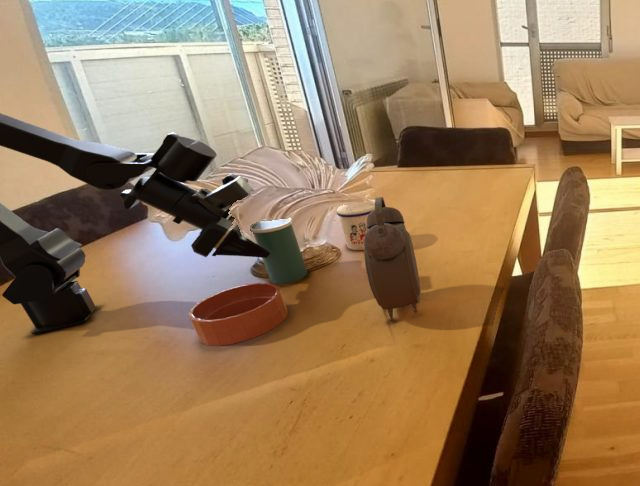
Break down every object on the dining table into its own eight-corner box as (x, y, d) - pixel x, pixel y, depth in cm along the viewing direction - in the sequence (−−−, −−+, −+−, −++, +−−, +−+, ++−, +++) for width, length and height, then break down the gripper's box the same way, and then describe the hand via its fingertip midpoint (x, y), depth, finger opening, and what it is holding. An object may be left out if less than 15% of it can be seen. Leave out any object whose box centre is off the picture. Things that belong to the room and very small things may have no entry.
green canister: (281, 289, 91) (261, 232, 86) (263, 282, 94) (242, 226, 89) (316, 274, 96) (298, 220, 91) (297, 268, 99) (279, 214, 94)
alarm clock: (380, 292, 88) (354, 191, 81) (421, 284, 91) (400, 185, 83) (377, 334, 76) (345, 219, 68) (425, 323, 79) (400, 211, 71)
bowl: (194, 358, 72) (181, 330, 70) (206, 321, 81) (195, 296, 79) (288, 331, 78) (278, 305, 76) (288, 300, 87) (280, 276, 85)
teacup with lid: (349, 254, 104) (335, 205, 100) (343, 241, 111) (330, 194, 107) (406, 240, 111) (395, 193, 106) (397, 229, 117) (387, 184, 113)
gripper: (189, 179, 75) (290, 230, 84) (225, 154, 91) (307, 199, 99) (146, 233, 76) (251, 279, 84) (189, 199, 91) (274, 240, 100)
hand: (274, 246), depth 92 cm, fingers open, 9 cm apart
